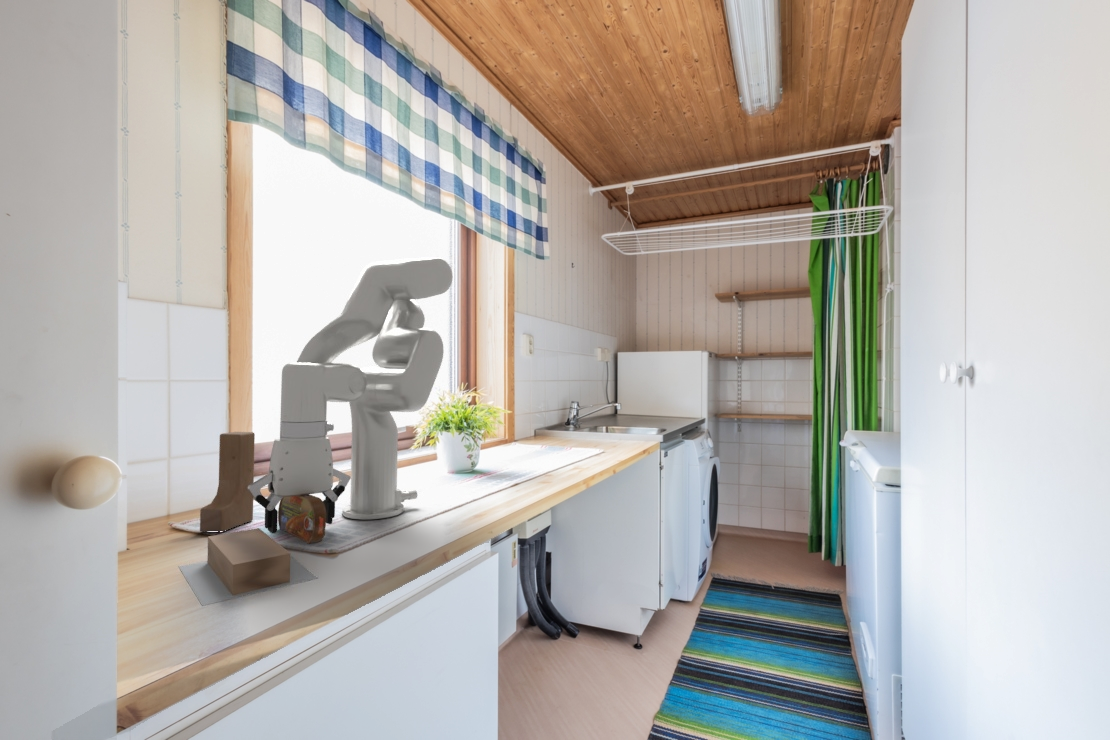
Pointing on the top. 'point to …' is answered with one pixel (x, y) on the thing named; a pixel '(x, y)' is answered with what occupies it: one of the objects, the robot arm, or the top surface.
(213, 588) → the plate
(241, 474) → the wooden block
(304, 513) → the tin
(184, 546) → the top surface
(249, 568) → the base block
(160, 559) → the top surface
